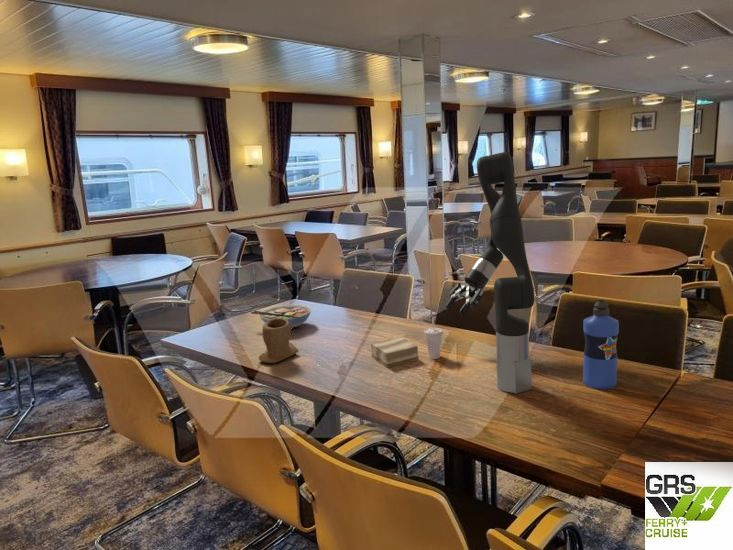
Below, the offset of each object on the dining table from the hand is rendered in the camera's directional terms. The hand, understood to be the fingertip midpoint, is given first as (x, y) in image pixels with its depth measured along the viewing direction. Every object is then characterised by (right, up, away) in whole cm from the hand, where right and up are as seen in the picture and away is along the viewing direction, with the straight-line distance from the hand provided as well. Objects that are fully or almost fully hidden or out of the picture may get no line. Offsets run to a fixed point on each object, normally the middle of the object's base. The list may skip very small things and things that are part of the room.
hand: (454, 311), depth 188 cm
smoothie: (-7, -16, 0) cm, 18 cm away
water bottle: (+38, -19, -30) cm, 52 cm away
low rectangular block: (-21, -17, +1) cm, 27 cm away
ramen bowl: (-65, -10, +46) cm, 80 cm away
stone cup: (-62, -18, +10) cm, 65 cm away
